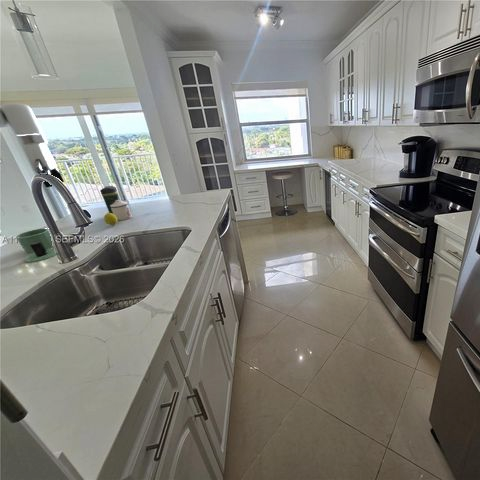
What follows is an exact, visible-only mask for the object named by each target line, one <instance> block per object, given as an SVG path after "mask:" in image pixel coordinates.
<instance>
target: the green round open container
mask: <svg viewBox="0 0 480 480" xmlns="http://www.w3.org/2000/svg"><path fill="white" fill-rule="evenodd" d="M48 229H49V228H48ZM48 229H47V228H46V227H43V228H35V229H31V230H27V231H25V232H22V233H19V234H17V235H15V238H16V240H17V241H18V243H19V245H20V246H21V248H22V249H23V251H24V253H26V254H34V251H33V250H32V248H31V246H30V245H29V244H31V243H33V242H37V241H41V243H42V244H43V246H44V248H45V250H49V249H53V248H54V247H53V246H52V241H51V236H50V233H49V231H48Z"/></svg>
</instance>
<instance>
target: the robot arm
mask: <svg viewBox="0 0 480 480" xmlns="http://www.w3.org/2000/svg"><path fill="white" fill-rule="evenodd" d="M8 127H10V128H11V129H12V131H13V133H14V136H15V137H16V139H17V141H18V143H19V144H20V146H22V147H23V150H24V153H25V155H26V158H27V160H28V162H29V164H30V166H31V168H32V171H34V172H36V173H37V174H38V175H39V174H40V173H47V174H46V175H48V174H51V175H53V176H55V177H57V178H59V179H60V180H61V181H62V182H61V183H64V182H65V180H64V178H63V176H62V174H61V172H60V170H59V169H58V164H57V162H56V160H55V158H54V156H53V154H52V153H51V151H50V148H49V147H48V145H47V144H49V142H48V140H47V138H46V135H45V133H44V131H43V130H42V127H41V125H40V124H39V122H38V119H37V117H36V115H35V113H34V112H33V109H32V108H31V106H29V105H28V104H25V103H4V104H2V105H0V128H8ZM40 175H41V174H40ZM42 183H43V185H44V187H45V188H53V187H52V185H50V184H49V183H48V182H46V181H45V182H43V181H42Z"/></svg>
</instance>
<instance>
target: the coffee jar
mask: <svg viewBox="0 0 480 480" xmlns="http://www.w3.org/2000/svg"><path fill="white" fill-rule="evenodd" d="M99 192H100V194H101V196H102V198H103V201H104V203H105V206H106V209H107V211H108V213H112V214H113V211H112V209H111V208H110V205H112V204H113V203H114V202H115V200H119V201H122V199H121V197H120V195H119V192H118V189H117V187H116V186H113V185H105V186H104V187H103V188H101V189H100V191H99Z"/></svg>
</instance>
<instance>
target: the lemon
mask: <svg viewBox="0 0 480 480" xmlns="http://www.w3.org/2000/svg"><path fill="white" fill-rule="evenodd" d="M103 219H104V222H105V223H106V225H109V226H112V227H114V226H115V225H116V224H117V223H118V220H117V218H116V216H115V215H114V214H112V213H109V212H107V213H106V214H105V215H104V217H103Z"/></svg>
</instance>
